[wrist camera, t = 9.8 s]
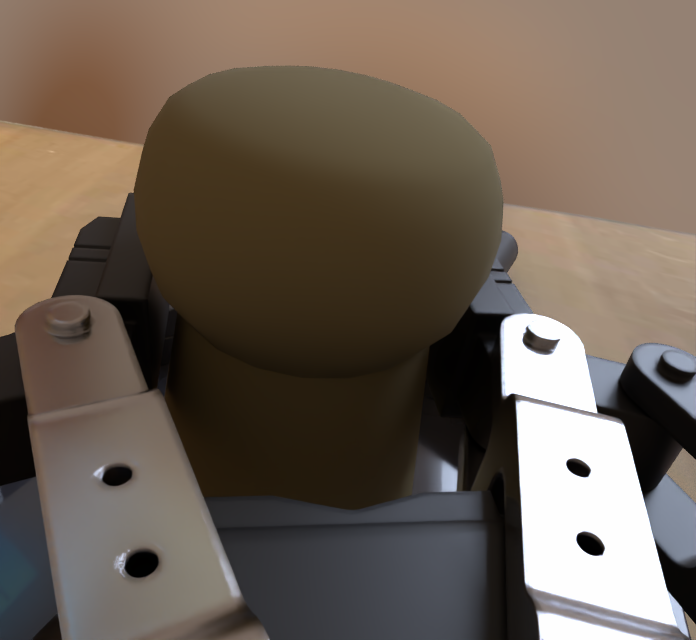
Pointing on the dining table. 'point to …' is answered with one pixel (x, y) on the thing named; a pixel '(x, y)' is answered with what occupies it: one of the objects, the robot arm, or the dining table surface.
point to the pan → (23, 496)
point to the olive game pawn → (310, 273)
